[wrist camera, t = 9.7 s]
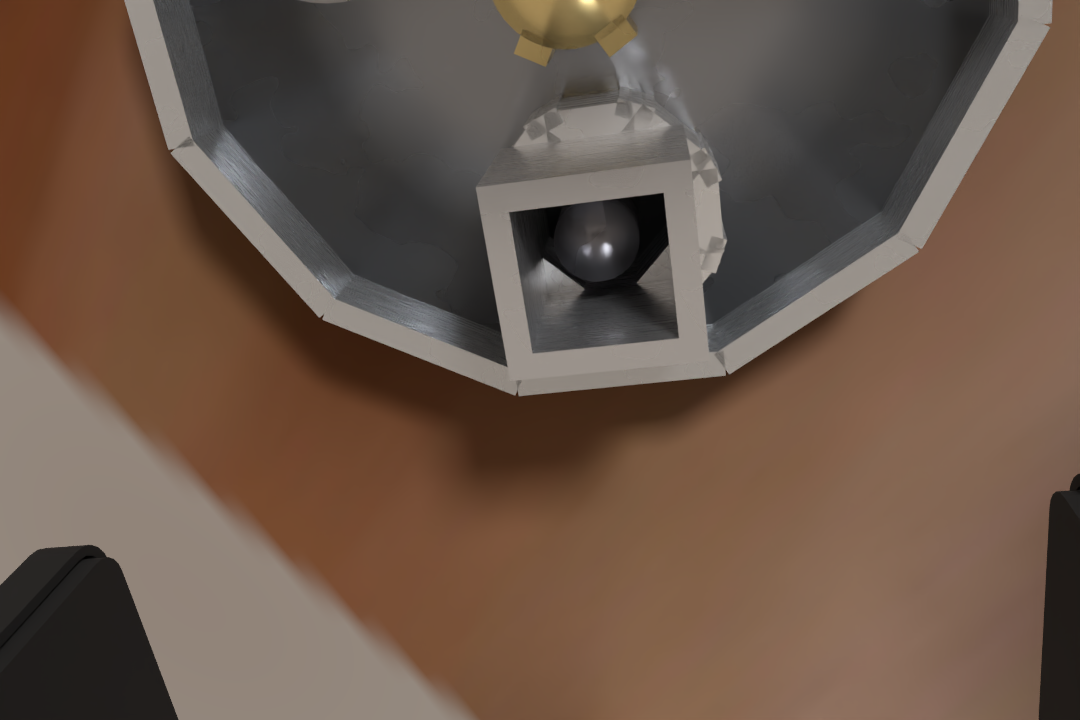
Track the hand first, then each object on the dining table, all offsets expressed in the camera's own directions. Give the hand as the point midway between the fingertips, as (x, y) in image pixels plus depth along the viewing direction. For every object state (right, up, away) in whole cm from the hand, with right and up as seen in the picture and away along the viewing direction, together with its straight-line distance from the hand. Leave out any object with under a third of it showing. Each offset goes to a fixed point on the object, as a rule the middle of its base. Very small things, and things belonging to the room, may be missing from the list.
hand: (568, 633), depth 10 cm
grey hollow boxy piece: (+1, +7, +16) cm, 18 cm away
